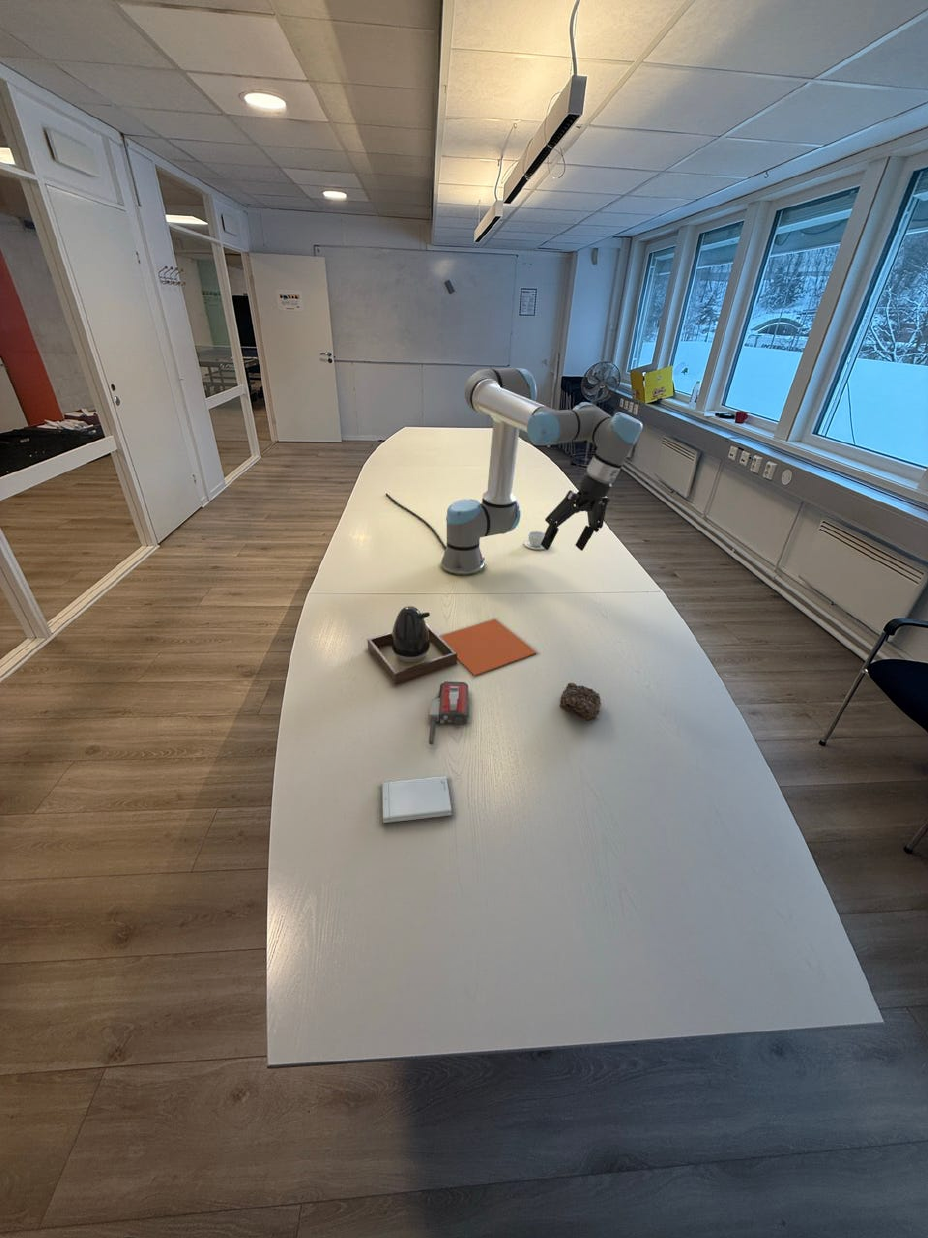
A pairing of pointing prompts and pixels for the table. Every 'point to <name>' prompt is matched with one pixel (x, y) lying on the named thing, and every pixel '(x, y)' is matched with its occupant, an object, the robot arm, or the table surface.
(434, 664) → the brown wooden square frame
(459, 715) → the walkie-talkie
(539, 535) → the teacup
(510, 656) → the mat
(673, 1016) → the table surface
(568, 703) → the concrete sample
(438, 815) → the hard drive
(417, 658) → the pump dispenser
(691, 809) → the table surface
